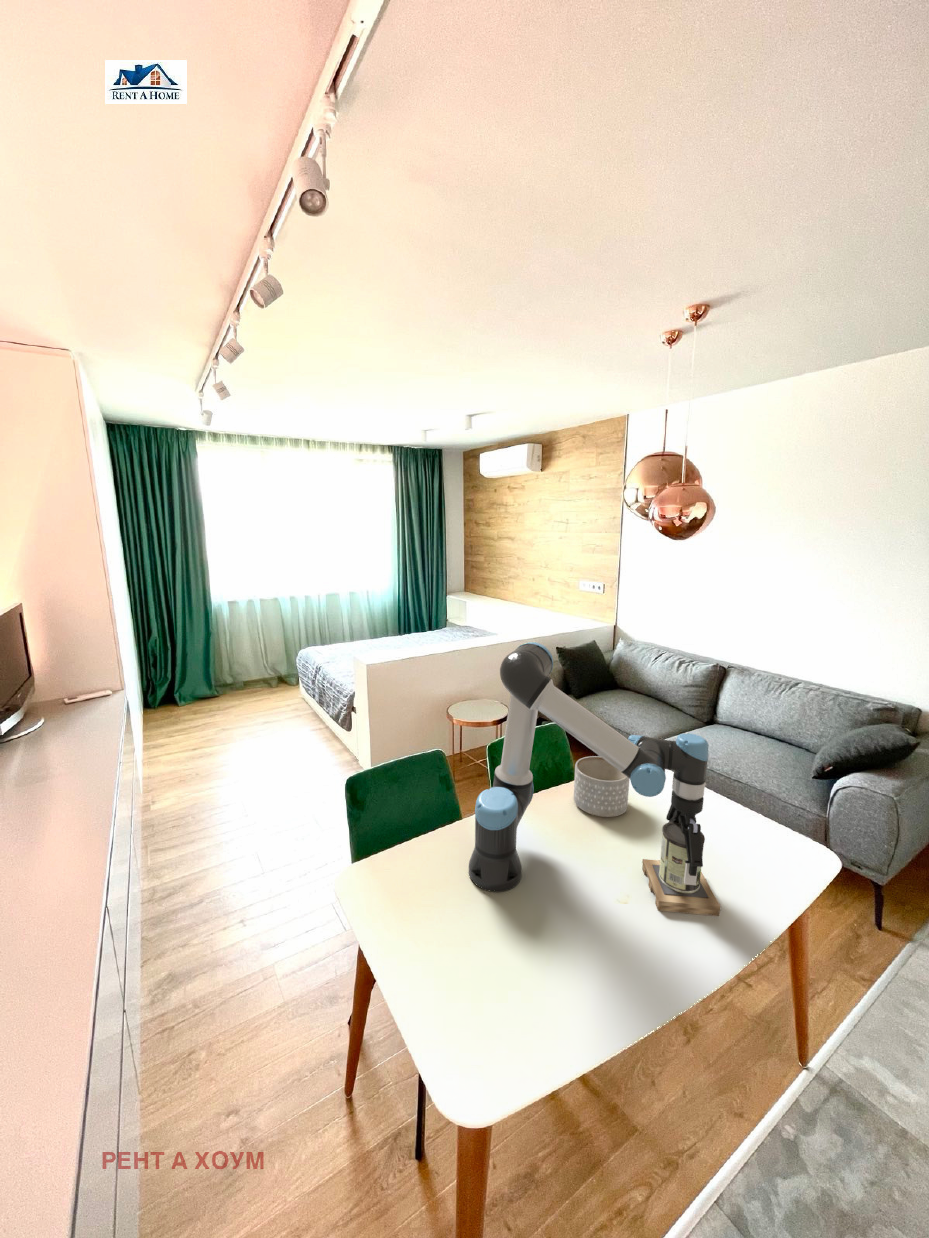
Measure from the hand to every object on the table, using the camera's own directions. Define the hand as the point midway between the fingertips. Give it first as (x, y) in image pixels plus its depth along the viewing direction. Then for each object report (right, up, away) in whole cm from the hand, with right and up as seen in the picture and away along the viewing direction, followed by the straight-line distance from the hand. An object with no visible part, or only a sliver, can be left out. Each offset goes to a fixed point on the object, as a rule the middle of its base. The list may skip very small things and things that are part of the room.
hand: (680, 865), depth 126 cm
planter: (-10, -1, +42) cm, 43 cm away
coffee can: (0, -4, +1) cm, 5 cm away
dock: (0, -8, +1) cm, 8 cm away
